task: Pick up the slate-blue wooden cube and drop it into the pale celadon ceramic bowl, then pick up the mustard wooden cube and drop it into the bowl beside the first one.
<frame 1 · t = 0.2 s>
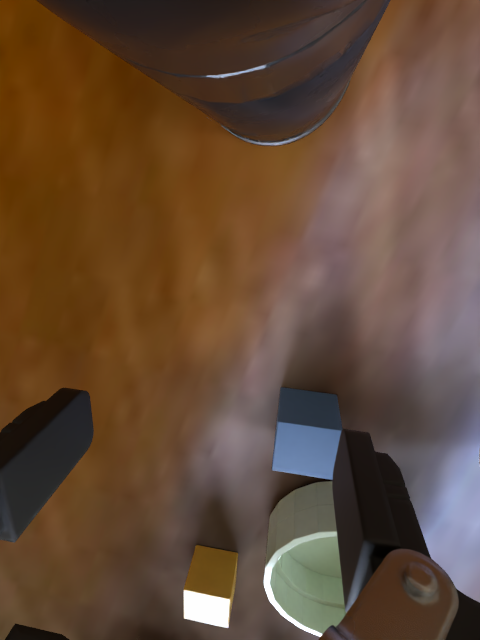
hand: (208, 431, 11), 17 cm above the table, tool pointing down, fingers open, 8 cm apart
blue cube: (305, 413, 31), on the table
bowl: (340, 531, 35), on the table
mustard cube: (216, 562, 39), on the table
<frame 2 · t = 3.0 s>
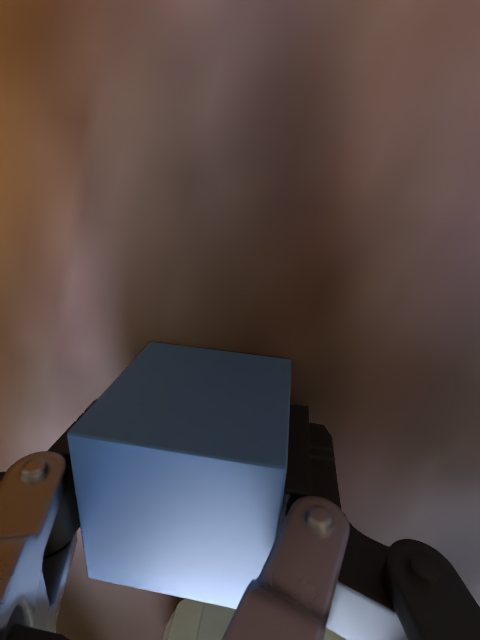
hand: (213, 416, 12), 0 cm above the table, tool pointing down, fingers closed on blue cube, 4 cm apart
blue cube: (216, 410, 12), on the table, touching gripper
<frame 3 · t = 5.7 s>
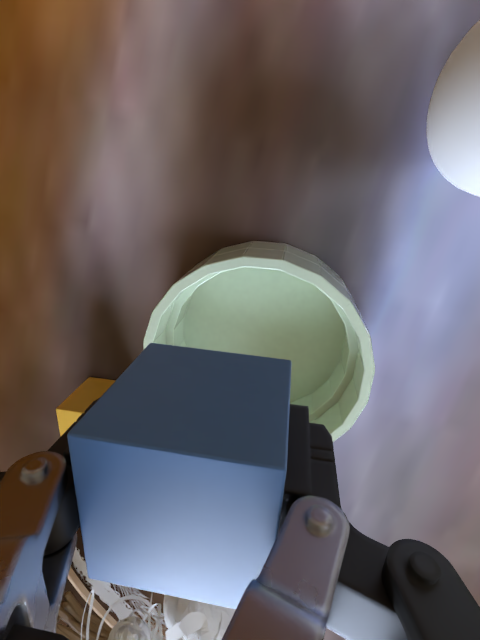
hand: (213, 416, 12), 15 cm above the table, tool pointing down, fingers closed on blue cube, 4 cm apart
blue cube: (216, 410, 12), point 14 cm above the table, touching gripper
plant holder: (126, 590, 41), on the table
sauce bottle: (473, 121, 20), on the table
bowl: (262, 334, 27), on the table
mustard cube: (116, 402, 31), on the table
when the fingers open (3 cm above the table, at t = 8.7 s): blue cube drops 2 cm, resting on bowl.
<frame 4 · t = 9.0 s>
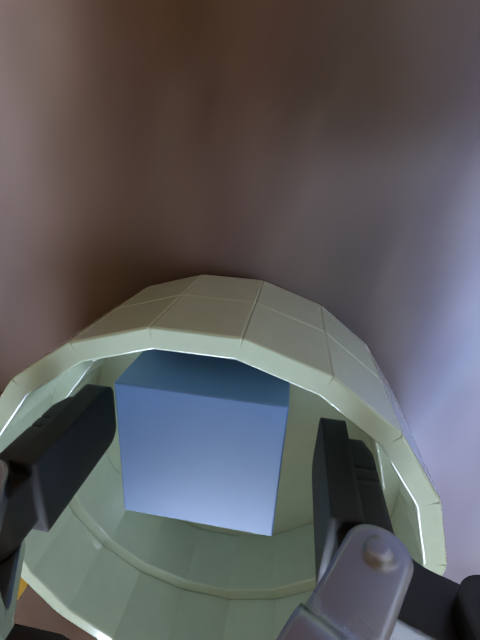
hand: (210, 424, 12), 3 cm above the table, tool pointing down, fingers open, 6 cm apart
blue cube: (227, 379, 14), resting on bowl
bowl: (226, 427, 16), on the table
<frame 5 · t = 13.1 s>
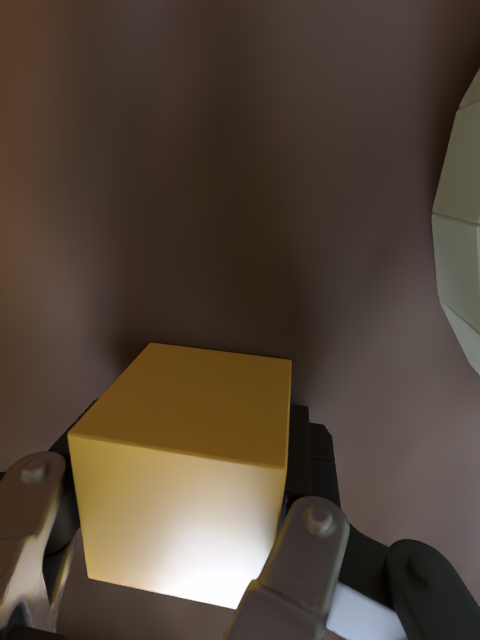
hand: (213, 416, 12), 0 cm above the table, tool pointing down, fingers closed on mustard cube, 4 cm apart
mustard cube: (216, 410, 12), on the table, touching gripper
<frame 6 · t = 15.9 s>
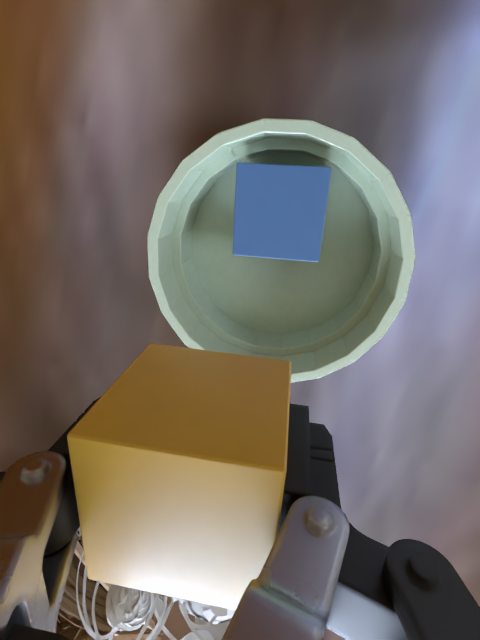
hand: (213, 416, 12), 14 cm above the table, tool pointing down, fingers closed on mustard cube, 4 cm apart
blue cube: (282, 207, 22), resting on bowl
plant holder: (127, 559, 38), on the table
bowl: (278, 249, 24), on the table
mustard cube: (216, 411, 12), point 14 cm above the table, touching gripper
when the fingers open (3 cm above the table, at t = 18.9 s): mustard cube drops 2 cm, resting on bowl.
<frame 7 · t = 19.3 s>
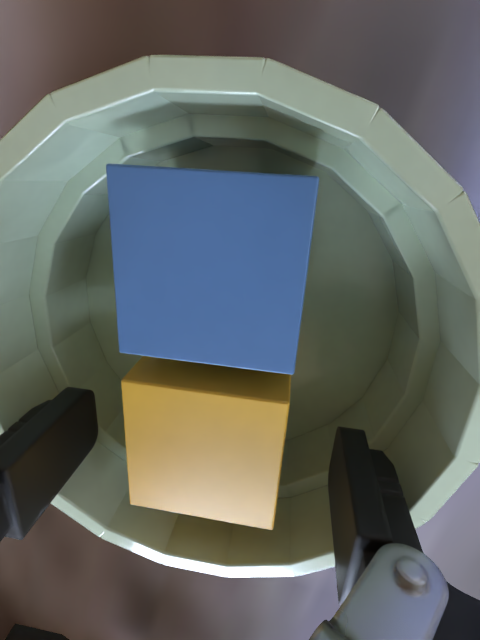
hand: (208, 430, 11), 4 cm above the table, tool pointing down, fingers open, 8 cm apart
blue cube: (237, 244, 13), resting on bowl
bowl: (235, 312, 14), on the table
mustard cube: (229, 378, 15), resting on bowl
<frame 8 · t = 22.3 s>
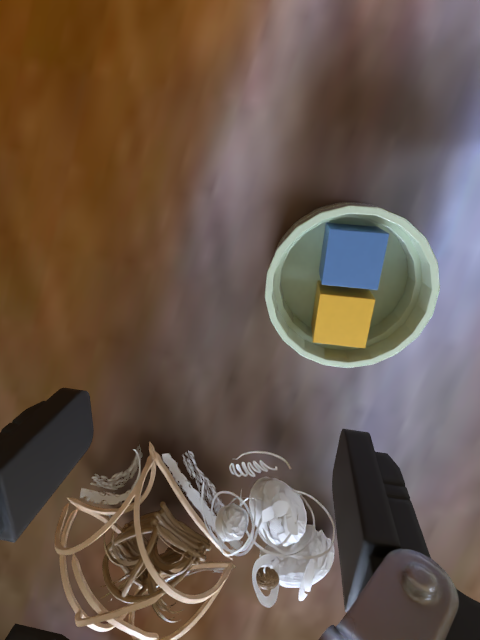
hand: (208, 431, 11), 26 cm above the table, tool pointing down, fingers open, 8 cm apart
blue cube: (347, 249, 33), resting on bowl
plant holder: (203, 509, 49), on the table
bowl: (341, 277, 35), on the table
mustard cube: (337, 304, 35), resting on bowl
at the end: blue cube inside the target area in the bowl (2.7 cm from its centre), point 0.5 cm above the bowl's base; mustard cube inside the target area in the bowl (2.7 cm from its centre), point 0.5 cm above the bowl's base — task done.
